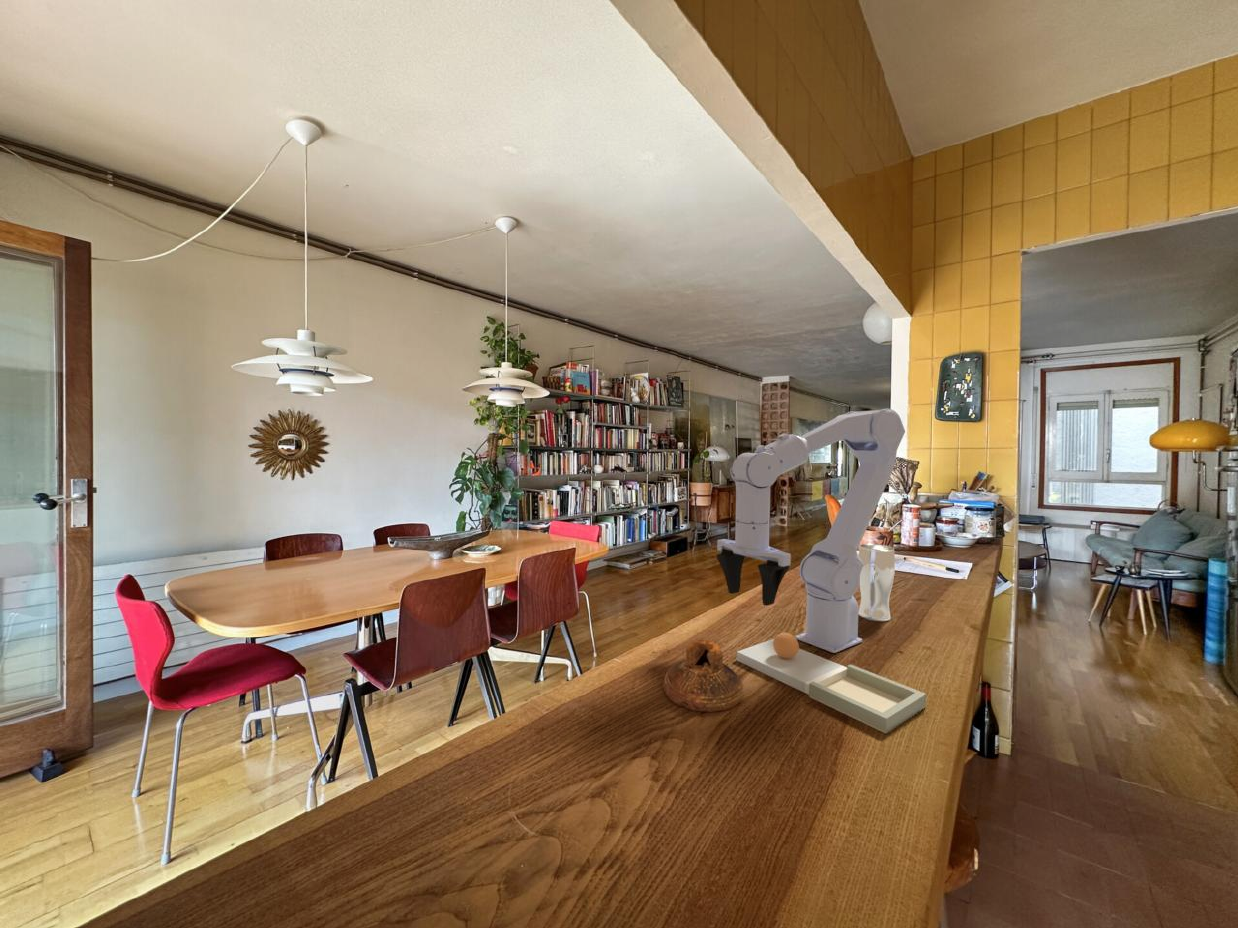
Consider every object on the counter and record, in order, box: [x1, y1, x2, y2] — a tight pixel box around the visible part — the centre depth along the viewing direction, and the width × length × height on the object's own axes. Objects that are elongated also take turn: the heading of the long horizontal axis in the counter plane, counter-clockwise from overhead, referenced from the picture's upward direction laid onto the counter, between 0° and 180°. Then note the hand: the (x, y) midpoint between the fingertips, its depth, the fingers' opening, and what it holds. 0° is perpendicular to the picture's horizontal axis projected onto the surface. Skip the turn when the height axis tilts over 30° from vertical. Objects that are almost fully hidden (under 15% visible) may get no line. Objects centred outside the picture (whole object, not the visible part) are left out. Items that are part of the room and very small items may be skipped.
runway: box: [736, 638, 847, 696], centre depth 80 cm, size 10×14×2 cm
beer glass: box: [858, 543, 896, 622], centre depth 105 cm, size 7×7×15 cm
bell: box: [662, 639, 744, 713], centre depth 73 cm, size 12×12×7 cm
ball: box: [773, 632, 800, 659], centre depth 81 cm, size 4×4×4 cm
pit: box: [808, 663, 927, 735], centre depth 70 cm, size 11×11×2 cm
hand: (750, 598), depth 87 cm, fingers open, 7 cm apart
